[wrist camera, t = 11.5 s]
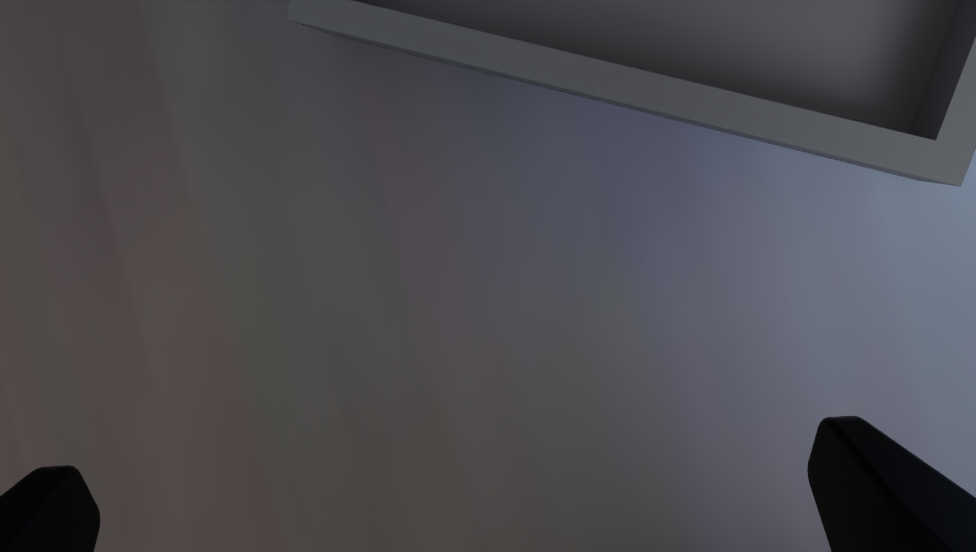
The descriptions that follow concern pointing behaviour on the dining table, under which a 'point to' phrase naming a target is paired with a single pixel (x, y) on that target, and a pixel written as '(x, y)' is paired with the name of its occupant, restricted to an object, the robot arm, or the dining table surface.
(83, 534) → the robot arm
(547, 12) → the tray
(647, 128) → the dining table surface
